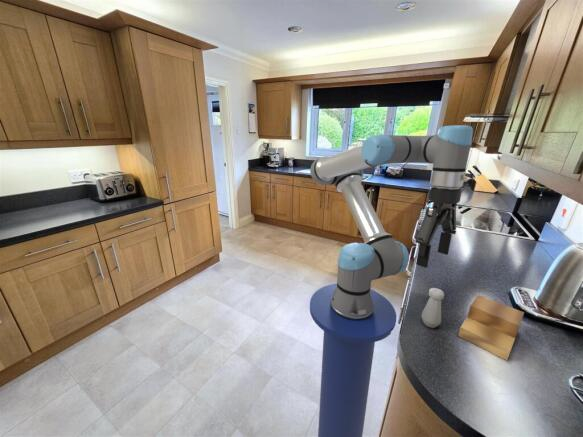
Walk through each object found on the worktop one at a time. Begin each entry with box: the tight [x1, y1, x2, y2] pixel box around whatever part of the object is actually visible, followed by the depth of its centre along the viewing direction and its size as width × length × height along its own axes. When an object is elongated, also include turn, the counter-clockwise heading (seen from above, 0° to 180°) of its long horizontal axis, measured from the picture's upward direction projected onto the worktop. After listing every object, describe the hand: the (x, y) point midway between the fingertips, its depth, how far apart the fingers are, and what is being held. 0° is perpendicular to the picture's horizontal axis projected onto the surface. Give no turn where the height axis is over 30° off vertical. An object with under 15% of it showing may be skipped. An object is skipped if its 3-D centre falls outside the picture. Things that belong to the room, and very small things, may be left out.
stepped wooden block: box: [457, 294, 525, 361], centre depth 76 cm, size 12×16×8 cm
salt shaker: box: [421, 287, 445, 329], centre depth 80 cm, size 6×6×13 cm
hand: (432, 259), depth 71 cm, fingers open, 13 cm apart
